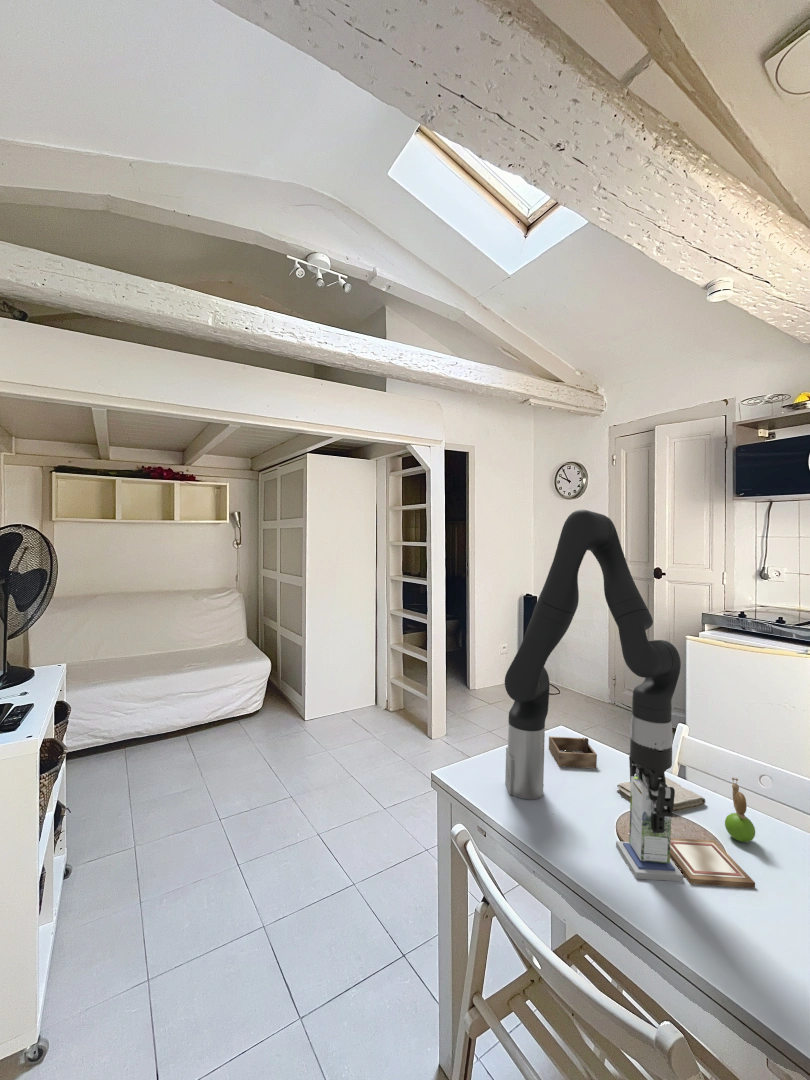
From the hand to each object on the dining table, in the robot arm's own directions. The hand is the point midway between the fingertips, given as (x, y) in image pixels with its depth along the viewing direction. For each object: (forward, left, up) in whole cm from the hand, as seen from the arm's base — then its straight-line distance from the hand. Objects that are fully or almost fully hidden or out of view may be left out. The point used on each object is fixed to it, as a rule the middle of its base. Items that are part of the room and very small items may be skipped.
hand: (649, 821), depth 91 cm
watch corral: (-2, +44, -9) cm, 45 cm away
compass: (-2, +43, -9) cm, 43 cm away
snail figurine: (+24, +10, -9) cm, 28 cm away
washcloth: (+14, +25, -9) cm, 30 cm away
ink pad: (0, 0, -9) cm, 9 cm away
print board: (+11, +1, -9) cm, 14 cm away
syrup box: (0, 0, -7) cm, 7 cm away
